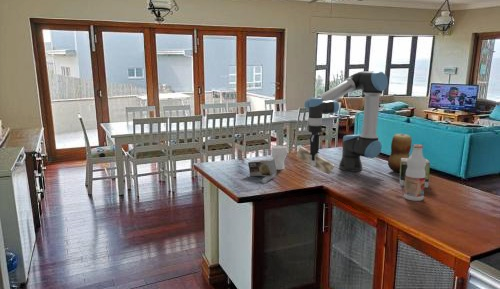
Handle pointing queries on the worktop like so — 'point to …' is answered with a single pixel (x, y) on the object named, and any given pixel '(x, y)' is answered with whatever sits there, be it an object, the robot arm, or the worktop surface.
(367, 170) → the worktop surface
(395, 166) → the butternut squash
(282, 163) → the cup
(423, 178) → the fruit juice
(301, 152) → the beech stick
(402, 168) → the tea box
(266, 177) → the stop batten
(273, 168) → the coffee box
